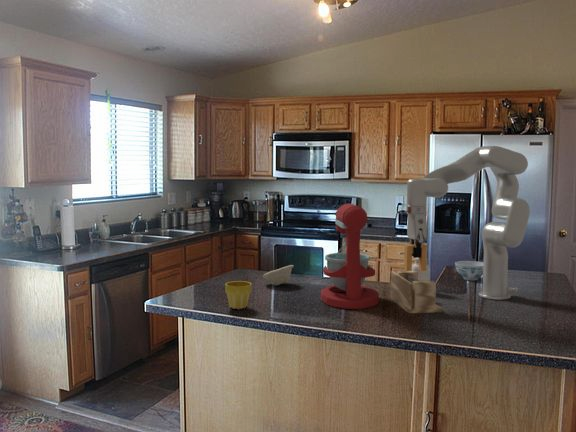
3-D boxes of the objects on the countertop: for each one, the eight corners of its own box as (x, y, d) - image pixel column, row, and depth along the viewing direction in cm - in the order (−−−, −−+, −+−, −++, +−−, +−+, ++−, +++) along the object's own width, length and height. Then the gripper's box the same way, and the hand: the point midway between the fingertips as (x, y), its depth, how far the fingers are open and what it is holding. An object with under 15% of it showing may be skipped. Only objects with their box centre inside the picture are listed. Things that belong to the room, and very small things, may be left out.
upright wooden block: (423, 269, 209) (423, 244, 208) (426, 270, 206) (426, 245, 205) (403, 269, 208) (404, 244, 207) (406, 271, 205) (407, 245, 204)
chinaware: (449, 276, 263) (450, 261, 262) (478, 275, 265) (478, 260, 264) (462, 282, 248) (463, 266, 247) (492, 281, 250) (493, 265, 249)
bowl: (275, 280, 256) (275, 260, 255) (299, 283, 247) (299, 263, 246) (256, 285, 244) (256, 264, 243) (280, 289, 235) (280, 268, 234)
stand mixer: (370, 290, 233) (371, 201, 229) (387, 309, 202) (388, 206, 198) (317, 291, 232) (317, 201, 228) (325, 310, 200) (326, 206, 197)
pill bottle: (430, 294, 225) (431, 260, 224) (411, 293, 227) (411, 259, 226) (429, 290, 233) (429, 257, 232) (410, 289, 235) (411, 256, 233)
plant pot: (255, 305, 208) (255, 281, 207) (245, 312, 198) (245, 287, 197) (232, 303, 211) (231, 280, 211) (220, 310, 202) (220, 285, 201)
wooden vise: (420, 297, 220) (420, 270, 219) (442, 312, 197) (442, 282, 196) (390, 298, 219) (390, 271, 218) (408, 313, 196) (409, 283, 195)
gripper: (433, 212, 197) (432, 260, 199) (418, 208, 213) (417, 253, 215) (414, 212, 196) (413, 260, 198) (400, 208, 213) (399, 253, 214)
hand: (415, 256), depth 206 cm, fingers closed on upright wooden block, 3 cm apart
